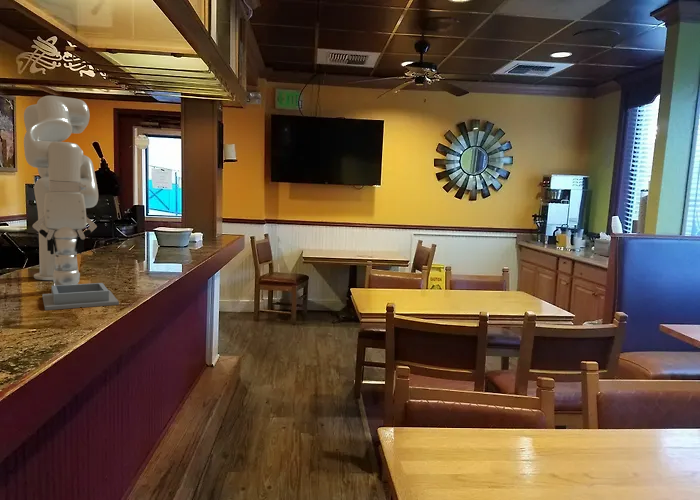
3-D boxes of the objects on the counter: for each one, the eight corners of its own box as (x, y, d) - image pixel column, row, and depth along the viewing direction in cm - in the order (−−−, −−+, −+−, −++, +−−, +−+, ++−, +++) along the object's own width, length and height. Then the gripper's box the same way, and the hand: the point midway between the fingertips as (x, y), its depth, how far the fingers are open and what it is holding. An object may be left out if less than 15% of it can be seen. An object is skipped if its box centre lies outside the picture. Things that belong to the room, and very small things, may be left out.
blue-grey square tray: (42, 297, 132) (42, 284, 132) (109, 292, 141) (109, 281, 140) (45, 310, 119) (44, 296, 118) (118, 304, 127) (118, 291, 127)
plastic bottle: (84, 285, 144) (84, 215, 141) (69, 290, 137) (68, 216, 135) (63, 283, 144) (62, 214, 142) (47, 288, 138) (46, 215, 135)
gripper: (98, 188, 145) (98, 250, 147) (27, 186, 136) (28, 252, 138) (101, 190, 139) (102, 254, 141) (27, 187, 129) (29, 256, 132)
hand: (65, 252), depth 139 cm, fingers closed on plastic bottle, 6 cm apart
